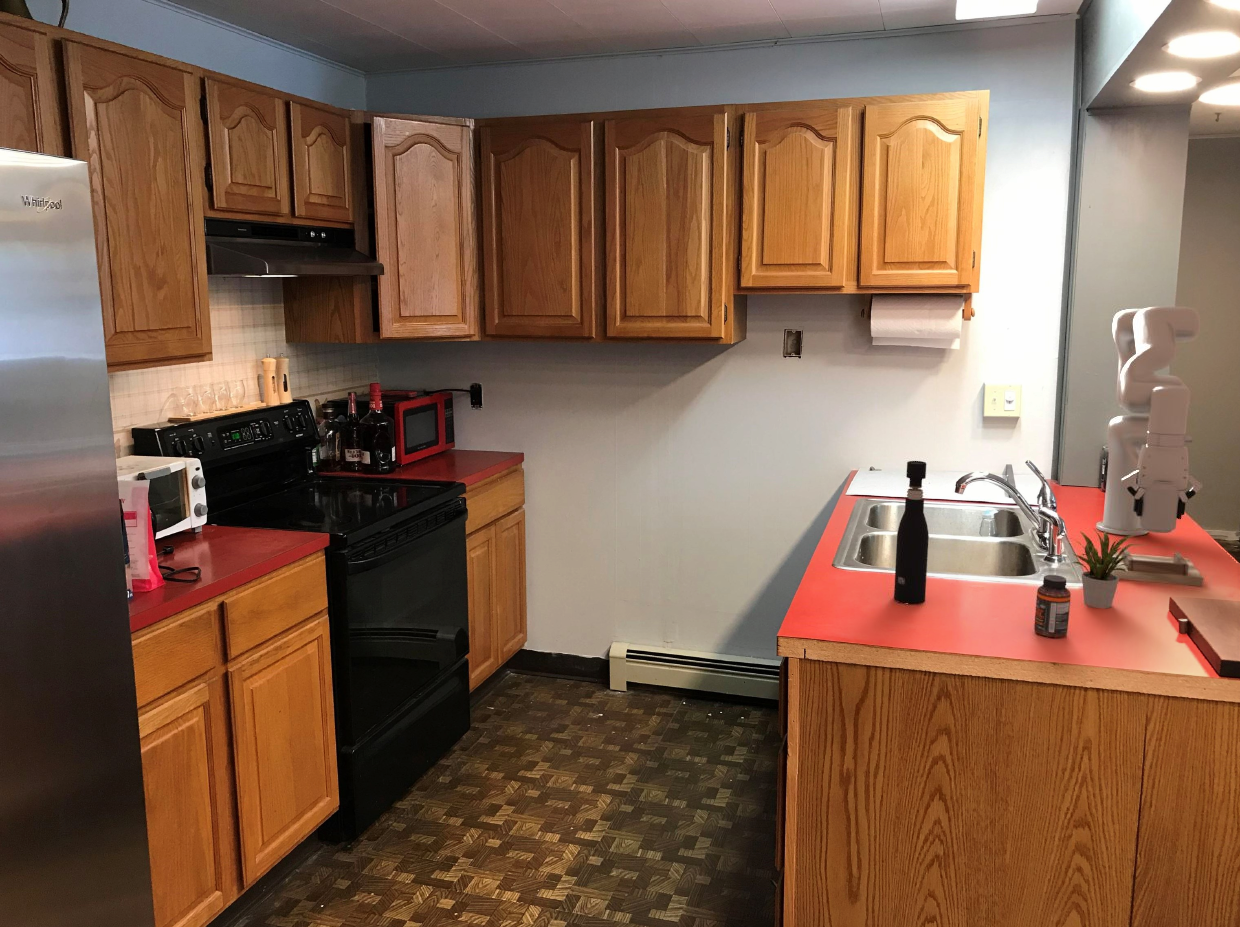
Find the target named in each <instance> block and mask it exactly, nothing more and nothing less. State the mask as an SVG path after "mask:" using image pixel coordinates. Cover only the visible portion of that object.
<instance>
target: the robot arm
mask: <svg viewBox="0 0 1240 927" xmlns="http://www.w3.org/2000/svg"><path fill="white" fill-rule="evenodd" d="M1112 321H1113V322H1112V335H1113V336H1112V337H1113V340H1114V344H1115V346H1116V347H1115V348H1116V350H1117V355H1118V366H1117V367H1118V370H1117V380H1116V382H1117V383H1116V403H1117V405H1118V406H1119V408H1121V409H1123V410H1124V411H1126V412H1127V413H1130V414H1126V415H1123V414H1122V415H1118V416H1115V417H1113V418H1111V419H1110V421H1109V423H1108V426H1107V434H1106V435H1107V442H1108V444H1107V445H1108V461H1107V462H1108V463H1107V472H1106V473H1107V475H1106V485H1105V496H1104V505H1103V506H1104V508H1103V516H1102V517H1103V519H1102V520H1101V521H1098V522H1096V523H1095V524H1096V526H1095V528H1096V529H1097V530H1098V531H1100V532H1104V531H1105V532H1106V533H1107V534H1114V535H1120V536H1131V535H1136V536H1143V535H1146V534H1148V533H1149V531H1146V530H1143V529H1142V527H1141V526H1140V525H1139V517H1140V516H1141V513H1142V502H1143V500H1142V499H1141V496H1142V495H1143V494H1144V493H1145V489H1146V488H1147V487H1148V486H1150V485H1152V484H1153V483H1154V482H1153V481H1159V482H1174V483H1173V485H1174V486H1176V487H1177V488H1178V491H1179V501H1178V510H1177V520H1181V519H1182V516H1184V515H1185V513H1186V512H1185V511H1186V510H1185V509H1186V503H1187V502H1188V501H1189V500H1190V499H1192V497H1194V496H1195V495H1196V494H1197V493H1198V492H1199V491H1200V490H1201V489H1203V487H1204V485H1203V484H1202V483H1201V482H1200V481H1198V480H1197V479H1195V477H1193V476H1192V475H1190V474H1189V452H1188V447H1187V446H1186V444H1189V443H1193V436H1189V435H1187V434H1186V432H1187V426H1188V425H1187V423H1188V413H1189V407H1190V404H1191V399H1192V398H1191V397H1192V393H1191V390H1189V388H1188V386H1187V385H1186V384H1184V382H1183V380H1182V379H1181V378H1180V377H1178V376H1175V375H1168V374H1163V375H1162V374H1155V372H1157V371H1160V370H1162V369H1165V368H1167V367H1169V366H1170V365H1173V363H1174V362H1175V360H1176V358H1177V354H1178V353H1177V352H1178V350H1177V345H1176V343H1190V342H1193V341H1195V340H1196V339H1197V338H1198V336H1199V334H1200V331H1201V323H1202V322H1201V317H1200V314H1199V312H1198V311H1197V310H1196V309H1195V308H1193V307H1190V306H1150V307H1145V308H1130V309H1129V308H1128V309H1125V310H1121V311H1119V312H1117V313H1116V314H1115V315H1114V317H1113V320H1112ZM1132 414H1134V415H1132ZM1136 414H1140V415H1136ZM1141 414H1143V415H1141ZM1144 414H1145V415H1144ZM1146 414H1147V415H1146ZM1189 483H1190V484H1192V487H1191V488H1190V489H1188V490H1187V488H1188V485H1189ZM1185 490H1187V491H1186V492H1185Z"/></svg>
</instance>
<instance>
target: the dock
mask: <svg viewBox="0 0 1240 927" xmlns="http://www.w3.org/2000/svg"><path fill="white" fill-rule="evenodd" d="M1123 548H1124V547H1121V550H1122V549H1123ZM1108 553H1109V551H1108ZM1119 553H1120V552H1116V554H1114V555H1113V557H1116V556H1117V555H1118V554H1119ZM1127 555H1132V556H1128V557H1126V558H1125V559H1123V560H1122V561H1123V562H1122V561H1121V562H1120V563H1119V564H1118V565H1120V566H1118V565H1117V567H1116V568H1122V569H1125V570H1126V572H1125V571H1121V570H1113V571H1112V572H1111V574H1114V575H1116V576H1118V577H1119V580H1125V581H1127V580H1128V581H1136V582H1137V581H1138V582H1150V583H1159V584H1170V585H1172V584H1173V585H1183V586H1192V587H1193V586H1194V587H1203V583H1204V577H1203V575H1202V574H1201V573H1200V571H1199V570H1198V569H1197V568H1196V566H1195V565H1194V564H1193V563H1192V561H1191V560H1190V558H1184V557H1183V556H1182V554H1181V553H1180V552H1178V551H1174V552H1173V557H1171V556H1159V555H1157V556H1156V555H1147V554H1138V553H1137V554H1134V553H1130V551H1129V550H1128V548H1127V549H1126V550H1125V551H1124V552H1123V553H1122V554H1121V555H1120V556H1119V558H1122V557H1124V556H1127ZM1117 560H1119V559H1117ZM1121 564H1129V565H1130V568H1131V569H1130V568H1129V567H1128V566H1124V565H1121ZM1110 566H1111V565H1110ZM1110 566H1109V567H1110ZM1108 569H1109V568H1108ZM1114 569H1115V568H1114Z"/></svg>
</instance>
